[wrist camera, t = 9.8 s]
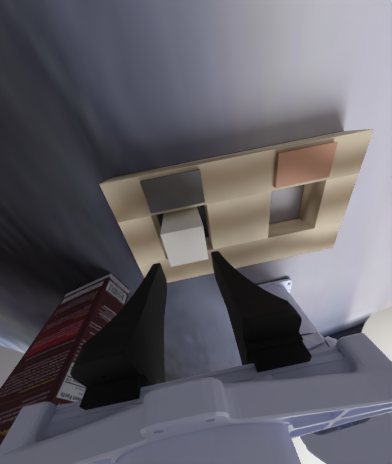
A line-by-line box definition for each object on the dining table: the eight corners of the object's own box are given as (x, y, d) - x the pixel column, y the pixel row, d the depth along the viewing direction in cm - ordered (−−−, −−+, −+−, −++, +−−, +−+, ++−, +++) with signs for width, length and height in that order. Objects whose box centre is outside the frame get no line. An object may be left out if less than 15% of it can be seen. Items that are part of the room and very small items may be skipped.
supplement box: (89, 309, 27) (-2, 485, 13) (65, 292, 24) (-77, 487, 11) (132, 290, 26) (82, 460, 12) (112, 271, 23) (21, 456, 10)
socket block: (316, 236, 24) (335, 249, 21) (151, 271, 24) (148, 288, 21) (344, 131, 17) (378, 128, 14) (110, 177, 17) (97, 185, 14)
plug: (200, 231, 22) (208, 259, 16) (172, 236, 22) (171, 266, 16) (195, 203, 20) (203, 225, 14) (164, 210, 19) (160, 234, 14)
